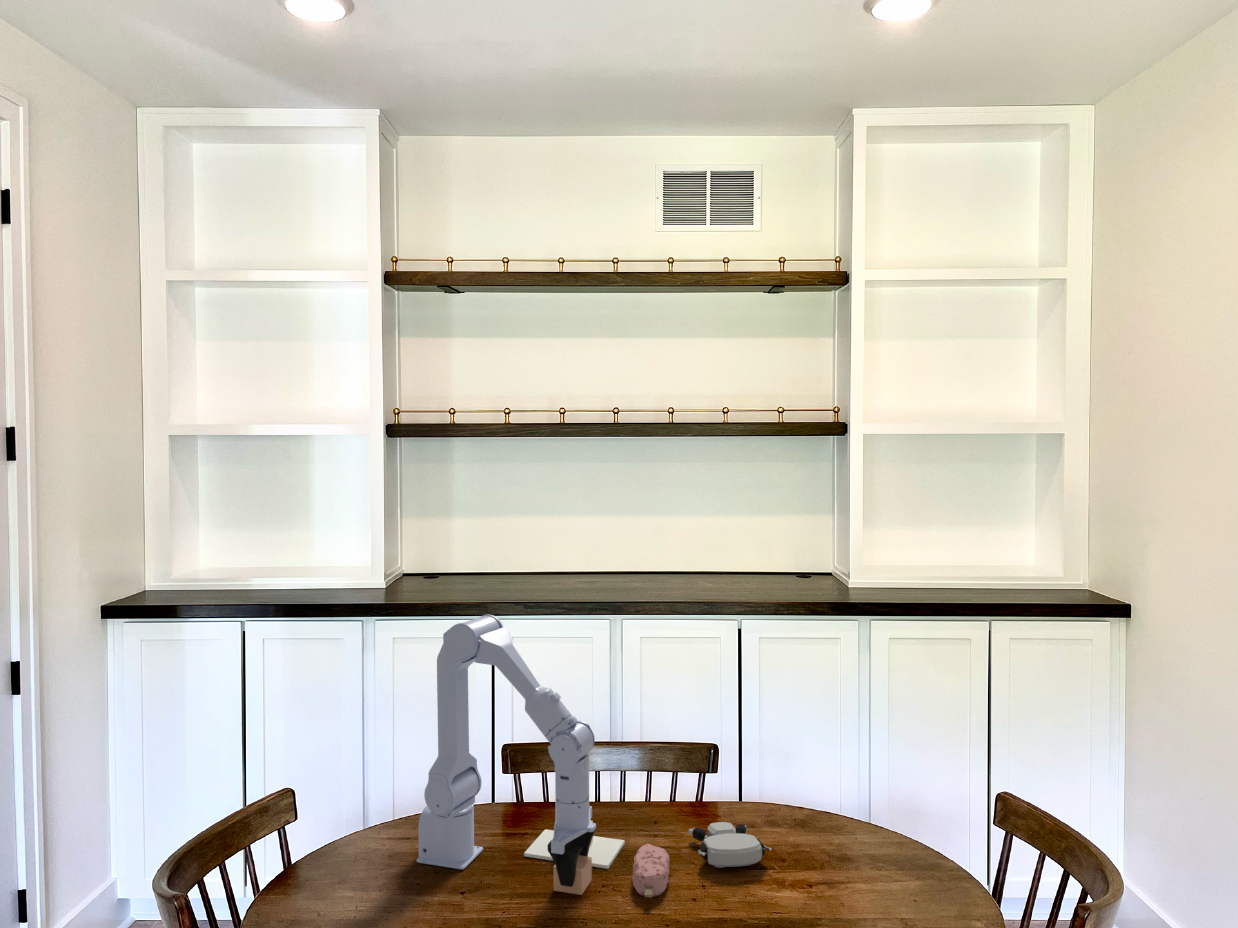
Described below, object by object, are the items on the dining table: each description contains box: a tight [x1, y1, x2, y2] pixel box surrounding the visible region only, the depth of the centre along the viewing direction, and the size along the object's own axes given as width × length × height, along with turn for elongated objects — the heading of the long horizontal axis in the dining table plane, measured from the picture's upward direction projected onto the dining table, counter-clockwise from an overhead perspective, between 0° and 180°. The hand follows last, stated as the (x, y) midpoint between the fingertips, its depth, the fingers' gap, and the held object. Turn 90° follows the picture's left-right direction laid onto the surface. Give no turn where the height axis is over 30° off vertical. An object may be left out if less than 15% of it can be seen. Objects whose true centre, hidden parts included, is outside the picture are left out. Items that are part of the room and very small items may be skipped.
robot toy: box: [688, 821, 772, 869], centre depth 154 cm, size 12×4×15 cm
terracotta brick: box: [552, 855, 593, 896], centre depth 144 cm, size 5×5×4 cm
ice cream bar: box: [631, 843, 671, 899], centre depth 144 cm, size 6×4×15 cm
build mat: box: [523, 829, 626, 870], centre depth 157 cm, size 16×10×1 cm, turn 73°
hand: (572, 876), depth 144 cm, fingers closed on terracotta brick, 5 cm apart
